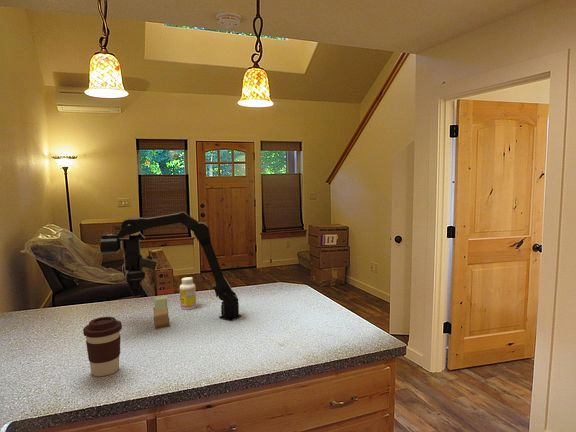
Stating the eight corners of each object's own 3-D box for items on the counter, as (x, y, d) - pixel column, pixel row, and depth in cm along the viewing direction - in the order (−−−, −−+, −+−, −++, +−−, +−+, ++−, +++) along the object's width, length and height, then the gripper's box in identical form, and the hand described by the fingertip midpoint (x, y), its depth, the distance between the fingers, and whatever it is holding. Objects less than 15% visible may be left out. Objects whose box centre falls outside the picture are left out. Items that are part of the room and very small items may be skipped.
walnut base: (169, 327, 145) (169, 317, 144) (155, 329, 142) (155, 320, 142) (167, 322, 149) (167, 313, 149) (153, 325, 147) (153, 316, 147)
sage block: (167, 308, 144) (166, 298, 144) (156, 310, 142) (155, 299, 142) (165, 305, 148) (165, 295, 147) (154, 307, 146) (154, 297, 146)
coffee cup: (129, 362, 116) (126, 313, 115) (115, 379, 106) (112, 326, 105) (95, 363, 116) (93, 314, 115) (79, 380, 106) (75, 327, 105)
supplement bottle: (179, 306, 168) (177, 277, 167) (194, 304, 171) (193, 275, 170) (181, 311, 162) (180, 281, 161) (197, 308, 165) (196, 279, 164)
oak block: (168, 317, 145) (167, 308, 144) (155, 319, 142) (155, 310, 142) (166, 314, 149) (165, 305, 148) (154, 316, 146) (153, 307, 146)
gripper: (158, 253, 138) (160, 296, 139) (151, 246, 154) (153, 284, 156) (125, 256, 133) (127, 301, 134) (121, 248, 149) (123, 288, 150)
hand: (134, 293), depth 144 cm, fingers open, 9 cm apart
